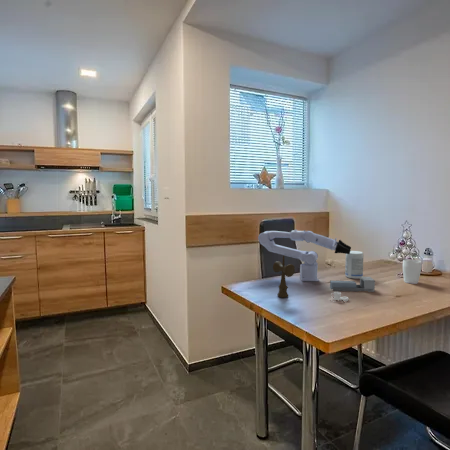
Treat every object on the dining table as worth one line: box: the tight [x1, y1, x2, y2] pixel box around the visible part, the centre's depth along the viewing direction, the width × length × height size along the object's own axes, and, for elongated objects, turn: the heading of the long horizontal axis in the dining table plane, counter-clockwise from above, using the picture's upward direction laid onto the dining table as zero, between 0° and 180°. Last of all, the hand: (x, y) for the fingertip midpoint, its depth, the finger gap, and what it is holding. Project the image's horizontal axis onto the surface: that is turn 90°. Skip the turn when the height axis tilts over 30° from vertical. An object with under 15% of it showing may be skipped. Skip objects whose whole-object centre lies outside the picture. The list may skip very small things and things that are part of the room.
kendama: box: [272, 255, 296, 299], centre depth 148 cm, size 6×10×20 cm, turn 33°
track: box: [332, 276, 376, 293], centre depth 161 cm, size 20×7×6 cm, turn 84°
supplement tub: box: [344, 250, 364, 280], centre depth 183 cm, size 10×10×15 cm
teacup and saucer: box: [330, 291, 350, 302], centre depth 144 cm, size 9×8×4 cm
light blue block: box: [329, 280, 357, 290], centre depth 161 cm, size 12×4×4 cm, turn 83°
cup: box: [402, 258, 423, 285], centre depth 172 cm, size 9×9×12 cm
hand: (350, 250), depth 169 cm, fingers open, 7 cm apart
